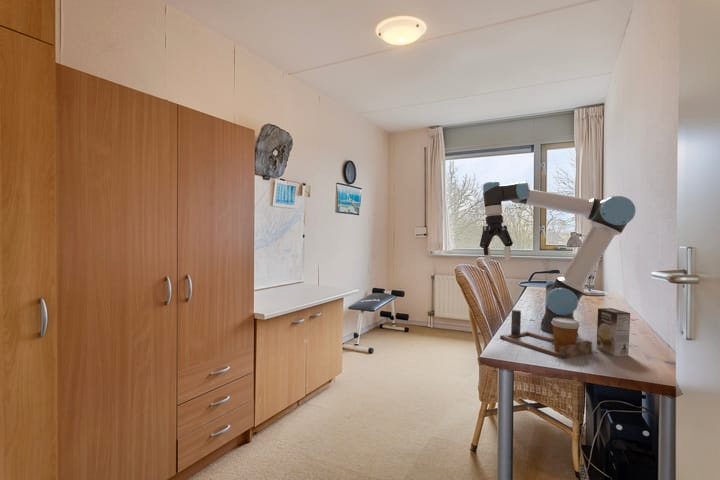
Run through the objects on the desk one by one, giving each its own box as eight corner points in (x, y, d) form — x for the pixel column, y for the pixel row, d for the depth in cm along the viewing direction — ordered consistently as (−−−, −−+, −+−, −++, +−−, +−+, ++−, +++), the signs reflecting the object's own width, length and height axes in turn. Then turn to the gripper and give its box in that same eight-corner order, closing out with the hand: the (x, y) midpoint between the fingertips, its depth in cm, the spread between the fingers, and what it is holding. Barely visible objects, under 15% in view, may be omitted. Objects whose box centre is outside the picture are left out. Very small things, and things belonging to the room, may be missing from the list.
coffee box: (595, 348, 147) (596, 307, 146) (609, 348, 148) (610, 307, 147) (614, 356, 138) (616, 312, 137) (629, 355, 139) (631, 312, 138)
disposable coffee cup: (582, 356, 136) (584, 324, 136) (554, 354, 138) (555, 322, 138) (573, 349, 145) (574, 318, 145) (547, 347, 147) (548, 316, 147)
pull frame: (525, 333, 167) (526, 308, 166) (591, 352, 141) (592, 323, 141) (498, 337, 158) (499, 311, 158) (563, 358, 133) (564, 327, 133)
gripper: (504, 216, 182) (508, 259, 181) (468, 216, 169) (473, 263, 168) (518, 214, 176) (522, 259, 175) (481, 214, 163) (486, 262, 162)
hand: (498, 261), depth 172 cm, fingers open, 13 cm apart
